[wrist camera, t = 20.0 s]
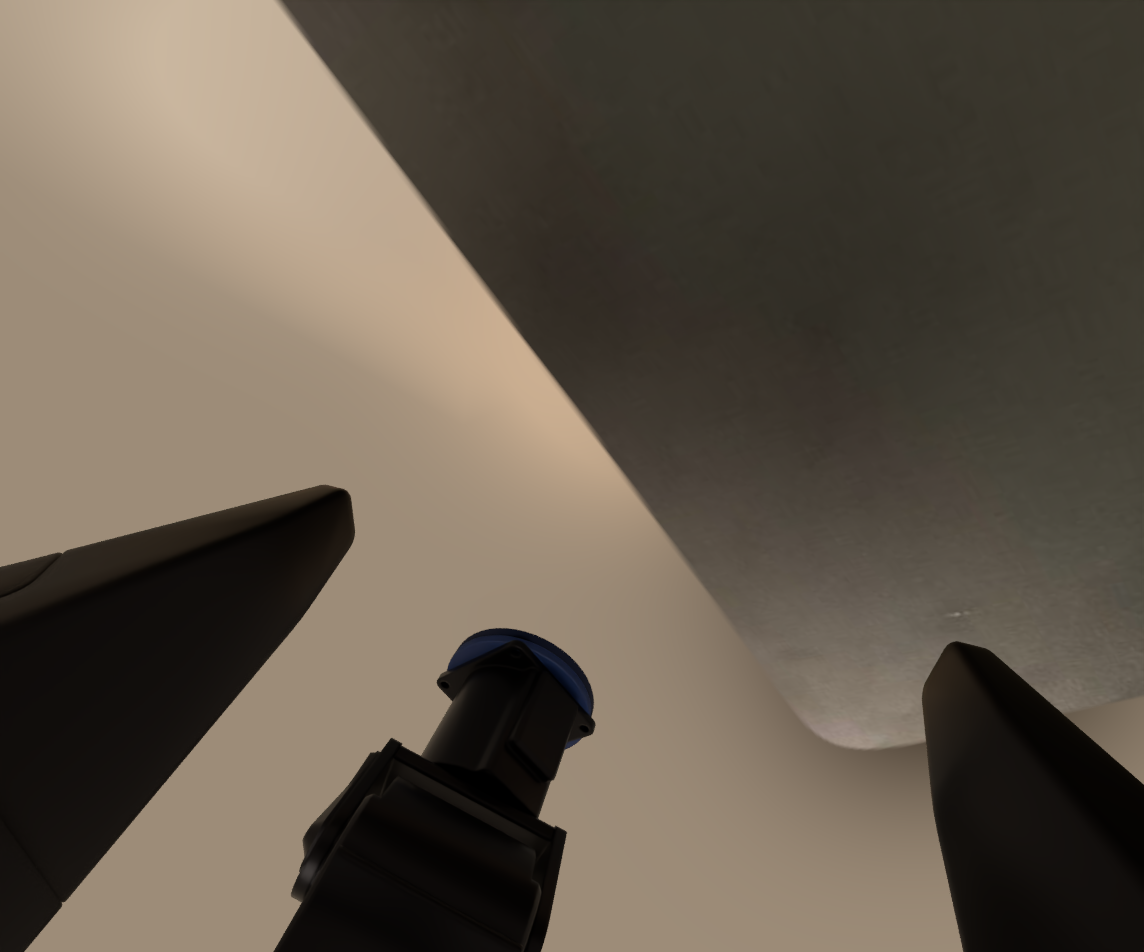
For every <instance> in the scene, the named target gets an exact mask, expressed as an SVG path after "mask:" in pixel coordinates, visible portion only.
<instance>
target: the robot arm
mask: <svg viewBox="0 0 1144 952" xmlns="http://www.w3.org/2000/svg"><path fill="white" fill-rule="evenodd" d="M354 536H355V527H354V519H353V510H352V502H351V497H350V495H349V493H348V492H347V491H346V490H344V489H341V488H337V487H333V486H329V485H319V486H316V487H312V488H308V489H304V490H300V491H296V492H292V493H289V494H285V495H280V496H277V497H273V498H269V499H265V500H261V501H257V502H253V503H249V504H246V505H242V506H238V507H234V508H230V509H226V510H222V511H219V512H215V513H210V514H207V515H203V516H199V517H195V518H191V519H187V520H184V521H179V522H176V523H172V524H168V525H164V526H160V527H156V528H152V529H149V530H145V531H141V532H137V533H133V534H129V535H125V536H121V537H117V538H114V539H109V540H105V541H101V542H98V543H94V544H90V545H86V546H82V547H78V548H74V549H70V550H67V551H65V552H64V553H63V554H62V553H55V554H51V555H47V556H43V557H39V558H35V559H31V560H27V561H24V562H19V563H15V564H11V565H7V566H3V567H0V952H24V951H25V950H26V949H27V948H28V946H29V945H30V944H31V943H32V941H33V940H34V939H35V938H36V937H37V936H38V934H39V933H40V932H41V931H42V930H43V928H44V927H45V926H46V925H47V924H48V922H49V921H50V920H51V919H52V918H53V916H54V915H55V914H56V913H57V912H58V910H59V909H60V908H61V907H62V902H65V901H66V900H67V899H68V898H69V897H70V896H71V894H72V893H73V892H74V891H75V890H76V888H77V887H78V886H79V885H80V883H81V882H82V881H83V880H84V879H85V878H86V876H87V875H88V874H89V873H90V872H91V870H92V869H93V868H94V867H95V866H96V864H97V863H98V862H99V861H100V860H101V858H102V857H103V856H104V855H105V854H106V853H107V851H108V850H109V849H110V848H111V847H112V845H113V844H114V843H115V842H116V841H117V839H118V838H119V837H120V836H121V835H122V833H123V832H124V831H125V830H126V829H127V827H128V826H129V825H130V824H131V823H132V821H133V820H134V819H135V818H136V817H137V815H138V814H139V813H140V812H141V811H142V809H143V808H144V807H145V805H147V803H148V802H149V801H150V800H151V798H152V797H153V796H154V795H155V794H156V793H157V791H158V790H159V789H160V788H161V786H162V785H163V784H164V783H165V782H166V781H167V779H168V778H169V777H170V776H171V775H172V773H173V772H174V771H175V770H176V769H177V768H178V766H179V765H180V764H181V762H183V760H184V759H185V758H186V757H187V755H188V754H189V753H190V752H191V751H192V750H193V748H194V747H195V746H196V745H197V744H198V742H199V741H200V740H201V739H202V738H203V736H204V735H205V734H206V733H207V731H208V730H209V729H210V728H211V727H212V726H213V724H214V723H215V722H216V721H217V720H218V718H219V717H220V716H221V715H222V713H223V712H224V711H225V710H226V709H227V708H228V706H229V705H230V704H231V703H232V702H233V700H234V699H235V698H236V697H237V696H238V694H239V693H240V692H241V691H242V690H243V689H244V687H245V686H246V685H247V684H248V682H249V681H250V680H251V679H252V678H253V677H254V675H255V674H256V673H257V672H258V671H259V669H260V668H261V667H262V666H263V665H264V663H265V662H266V661H267V660H268V659H269V657H270V656H271V655H272V654H273V652H274V651H275V650H276V649H277V648H278V646H279V645H280V644H281V643H282V642H283V640H284V639H285V638H286V637H287V636H288V635H289V633H290V632H291V631H292V630H293V629H294V627H295V626H296V625H297V623H298V622H299V621H300V620H301V618H302V617H303V616H304V614H305V613H306V611H307V610H308V609H309V607H310V606H311V604H312V603H313V601H314V600H315V599H316V597H317V595H318V594H319V593H320V591H321V590H322V588H323V587H324V585H325V583H326V582H327V581H328V579H329V578H330V576H331V575H332V573H333V572H334V570H335V569H336V568H337V566H338V565H339V563H340V562H341V560H342V559H343V557H344V556H345V554H346V553H347V551H348V550H349V548H350V547H351V545H352V543H353V540H354ZM515 649H516V650H515ZM517 650H518V651H517ZM437 685H438V686H439V688H440V689H441V690H442V691H443V692H444V693H445V694H446V695H447V696H448V697H449V698H450V699H451V700H452V701H453V702H452V704H451V705H450V707H449V709H448V711H447V712H446V714H445V716H444V717H443V719H442V721H441V723H440V724H439V726H438V728H437V729H436V731H435V733H434V735H433V736H432V738H431V740H430V742H429V743H428V745H427V747H426V748H425V750H424V752H423V753H422V755H421V756H420V755H418V754H416V753H414V752H412V751H410V750H409V749H407V748H405V747H403V746H401V745H402V743H400V742H399V741H397V740H395V739H393V738H391V739H390V740H389V742H388V743H387V744H386V746H385V747H384V748H383V750H382V751H381V752H379V751H377V752H376V753H370V754H369V756H368V757H367V759H366V760H365V762H364V763H363V765H362V766H361V768H360V769H359V771H358V772H357V774H356V775H355V777H354V778H353V779H352V781H351V782H350V783H349V785H348V786H347V787H346V788H345V790H344V791H343V792H342V793H341V794H340V795H339V796H338V797H337V798H336V799H335V800H334V801H333V802H332V804H331V805H330V806H329V807H328V808H327V809H326V810H325V811H324V812H323V813H322V814H321V815H320V816H319V817H318V818H317V820H316V821H315V822H314V823H313V824H312V825H311V826H310V828H309V829H308V831H307V832H306V834H305V836H304V838H303V848H304V856H305V858H304V860H303V862H302V864H301V867H300V870H299V872H300V874H299V875H298V877H297V879H296V882H295V884H294V886H293V889H292V892H291V896H292V897H293V898H295V899H297V900H298V901H300V902H302V903H301V905H300V907H299V909H298V910H297V912H296V914H295V916H294V917H293V919H292V921H291V923H290V924H289V926H288V928H287V929H286V931H285V933H284V934H283V936H282V938H281V940H280V942H279V943H278V945H277V947H276V948H275V950H274V952H541V949H542V946H543V943H544V939H545V936H546V932H547V928H548V924H549V920H550V914H551V910H552V905H553V900H554V895H555V889H556V885H557V880H558V874H559V869H560V864H561V859H562V854H563V849H564V844H565V839H566V834H567V832H566V831H565V830H563V829H561V828H559V827H557V826H555V827H552V826H550V825H548V824H547V823H545V822H543V821H541V820H539V819H538V817H539V814H540V811H541V808H542V805H543V802H544V799H545V796H546V793H547V791H548V788H549V785H550V782H551V781H552V780H554V778H555V776H556V773H557V770H558V767H559V764H560V762H561V759H562V756H563V753H564V750H565V747H566V744H567V742H571V741H574V740H577V739H580V738H583V737H586V736H589V735H591V734H593V732H594V728H595V722H594V720H593V719H592V718H591V717H590V715H589V714H588V713H587V712H586V711H585V710H584V709H583V708H582V707H581V705H580V704H579V703H578V702H577V701H576V700H575V699H574V698H573V697H572V695H571V694H570V693H569V692H568V691H567V690H566V689H565V688H564V687H563V685H562V684H561V683H560V682H559V681H558V680H557V679H556V678H555V676H554V675H553V674H552V673H551V672H550V671H549V670H548V669H547V668H546V666H545V665H544V664H543V663H542V662H541V661H540V660H539V659H538V658H537V656H536V655H535V654H534V653H533V652H532V651H531V650H530V649H529V648H528V646H527V645H526V644H525V643H523V642H522V641H520V640H512V641H510V642H508V643H505V644H503V645H501V646H499V647H497V648H495V649H493V650H491V651H488V652H486V653H484V654H482V655H480V656H478V657H476V658H474V659H471V660H469V661H467V662H465V663H463V664H461V665H459V666H457V667H454V668H452V669H450V670H448V671H446V672H444V673H442V674H441V675H440V677H439V679H438V680H437ZM922 705H923V715H924V725H925V735H926V745H927V756H928V765H929V776H930V785H931V796H932V803H933V811H934V817H935V822H936V827H937V833H938V837H939V842H940V846H941V851H942V855H943V860H944V865H945V869H946V874H947V879H948V883H949V888H950V892H951V897H952V902H953V906H954V911H955V915H956V920H957V924H958V929H959V934H960V938H961V943H962V948H963V952H1144V785H1143V784H1142V783H1141V782H1140V781H1139V780H1138V779H1137V778H1135V777H1134V776H1133V775H1132V774H1131V773H1130V772H1129V771H1127V770H1126V769H1125V768H1124V767H1123V766H1122V765H1121V764H1119V763H1118V762H1117V761H1116V760H1115V759H1114V758H1112V757H1111V756H1110V755H1109V754H1108V753H1107V752H1106V751H1104V750H1103V749H1102V748H1101V747H1100V746H1099V745H1098V744H1096V743H1095V742H1094V741H1093V740H1092V739H1091V738H1090V737H1089V736H1087V735H1086V734H1085V733H1084V732H1083V731H1082V730H1080V729H1079V728H1078V727H1077V726H1076V725H1075V724H1074V723H1072V722H1071V721H1070V720H1069V719H1068V718H1067V717H1065V716H1064V715H1063V714H1062V713H1061V712H1060V711H1059V710H1058V709H1056V708H1055V707H1054V706H1053V705H1052V704H1051V703H1050V702H1048V701H1047V700H1046V699H1045V698H1044V697H1043V696H1042V695H1040V694H1039V693H1038V692H1037V691H1036V690H1035V689H1034V688H1032V687H1031V686H1030V685H1029V684H1028V683H1027V682H1026V681H1024V680H1023V679H1022V678H1021V677H1020V676H1019V675H1018V674H1016V673H1015V672H1014V671H1013V670H1012V669H1011V668H1009V667H1008V666H1007V665H1006V664H1005V663H1004V662H1003V661H1001V660H1000V659H999V658H998V657H997V656H996V655H995V654H993V653H992V652H991V651H990V650H988V649H985V648H982V647H978V646H974V645H970V644H966V643H962V642H957V641H956V642H952V643H950V644H948V645H947V646H946V648H945V649H944V651H943V652H942V654H941V656H940V658H939V659H938V661H937V663H936V665H935V666H934V668H933V670H932V672H931V673H930V675H929V677H928V679H927V680H926V682H925V685H924V688H923V693H922Z"/></svg>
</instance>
